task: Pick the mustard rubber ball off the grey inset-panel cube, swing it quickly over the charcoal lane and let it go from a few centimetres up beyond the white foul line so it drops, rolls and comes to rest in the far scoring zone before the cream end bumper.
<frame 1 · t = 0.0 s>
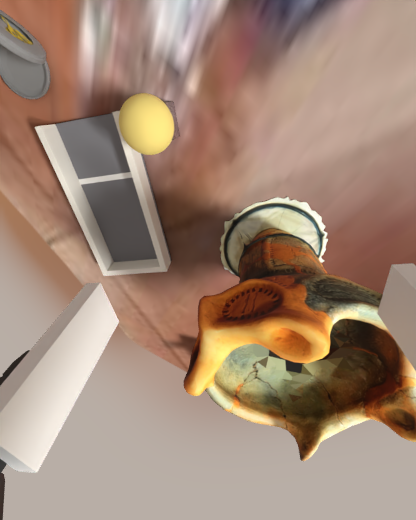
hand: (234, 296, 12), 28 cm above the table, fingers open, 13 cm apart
decorative vase: (271, 247, 42), on the table
ball: (154, 123, 30), point 4 cm above the table, touching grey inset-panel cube
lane: (119, 201, 40), on the table
pocket watch: (32, 61, 31), on the table
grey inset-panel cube: (162, 121, 33), on the table
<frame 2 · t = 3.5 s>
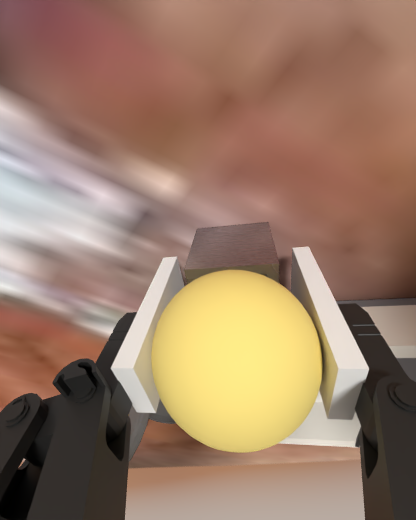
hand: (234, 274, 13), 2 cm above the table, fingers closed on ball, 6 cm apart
ball: (234, 296, 12), point 4 cm above the table, touching gripper, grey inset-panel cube
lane: (380, 358, 18), on the table
pocket watch: (158, 389, 24), on the table
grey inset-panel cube: (235, 255, 15), on the table
when the fingers open (4 cm above the table, at t = 7.0 s): ball drops 5 cm, resting on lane.
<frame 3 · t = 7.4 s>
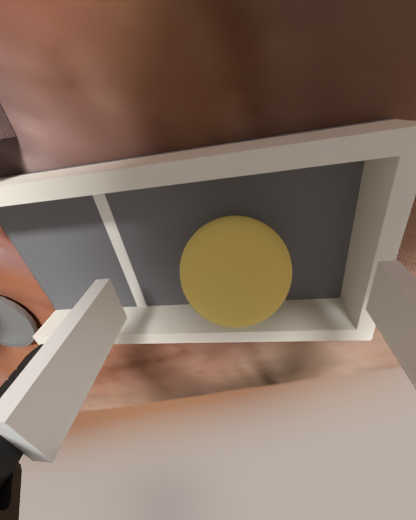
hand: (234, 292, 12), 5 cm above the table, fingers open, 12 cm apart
ball: (234, 244, 16), point 1 cm above the table, touching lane
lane: (178, 245, 17), on the table
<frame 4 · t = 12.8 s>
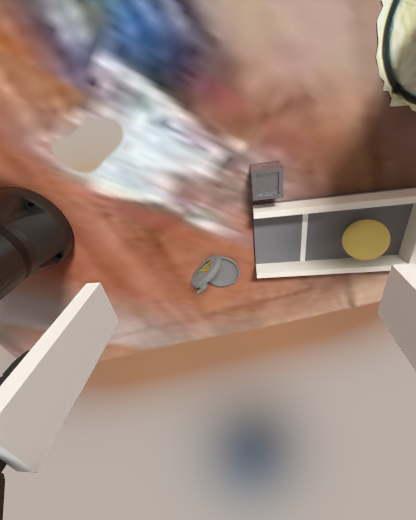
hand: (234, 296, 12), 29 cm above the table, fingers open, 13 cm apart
ball: (357, 230, 38), point 1 cm above the table, touching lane
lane: (329, 231, 40), on the table
pocket watch: (218, 264, 46), on the table
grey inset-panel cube: (264, 176, 36), on the table
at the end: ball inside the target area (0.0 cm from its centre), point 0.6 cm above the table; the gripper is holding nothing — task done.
